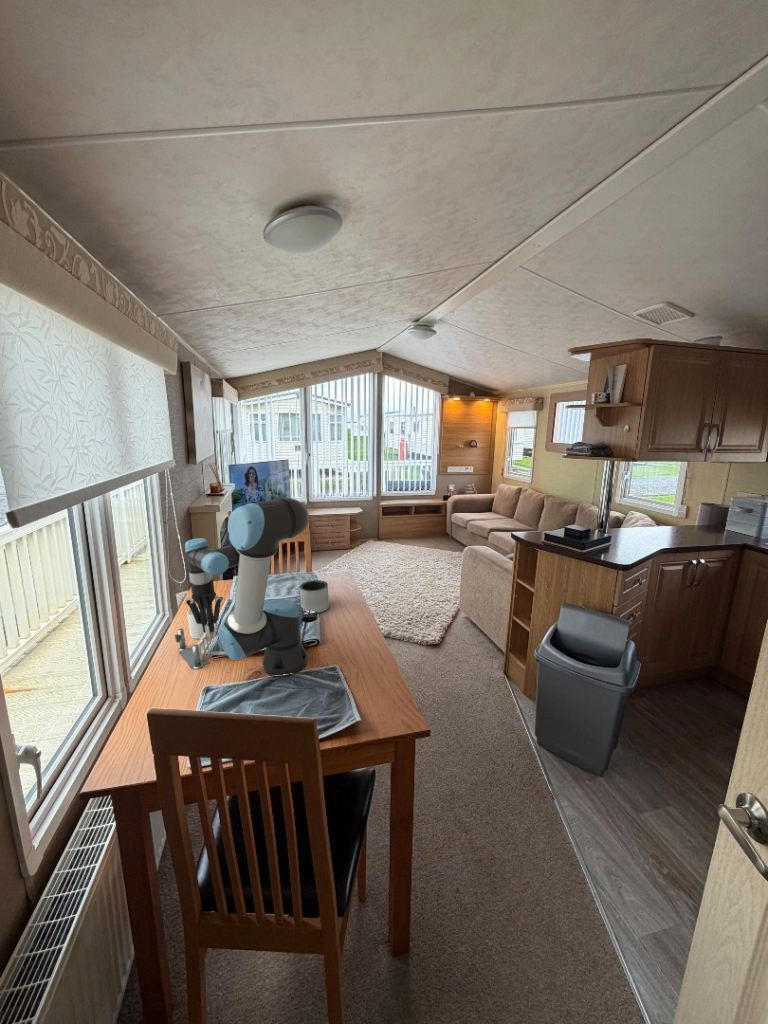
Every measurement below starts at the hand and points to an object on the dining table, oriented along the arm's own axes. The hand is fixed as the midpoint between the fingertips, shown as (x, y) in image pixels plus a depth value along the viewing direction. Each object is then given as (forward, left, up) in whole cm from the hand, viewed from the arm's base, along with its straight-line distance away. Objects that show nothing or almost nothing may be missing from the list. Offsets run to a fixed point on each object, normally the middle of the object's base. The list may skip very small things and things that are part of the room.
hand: (210, 639), depth 157 cm
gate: (-1, +3, -3) cm, 5 cm away
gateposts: (0, +8, -4) cm, 9 cm away
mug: (+13, -2, -4) cm, 14 cm away
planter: (+2, -47, -4) cm, 48 cm away
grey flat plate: (-1, +7, -4) cm, 8 cm away
